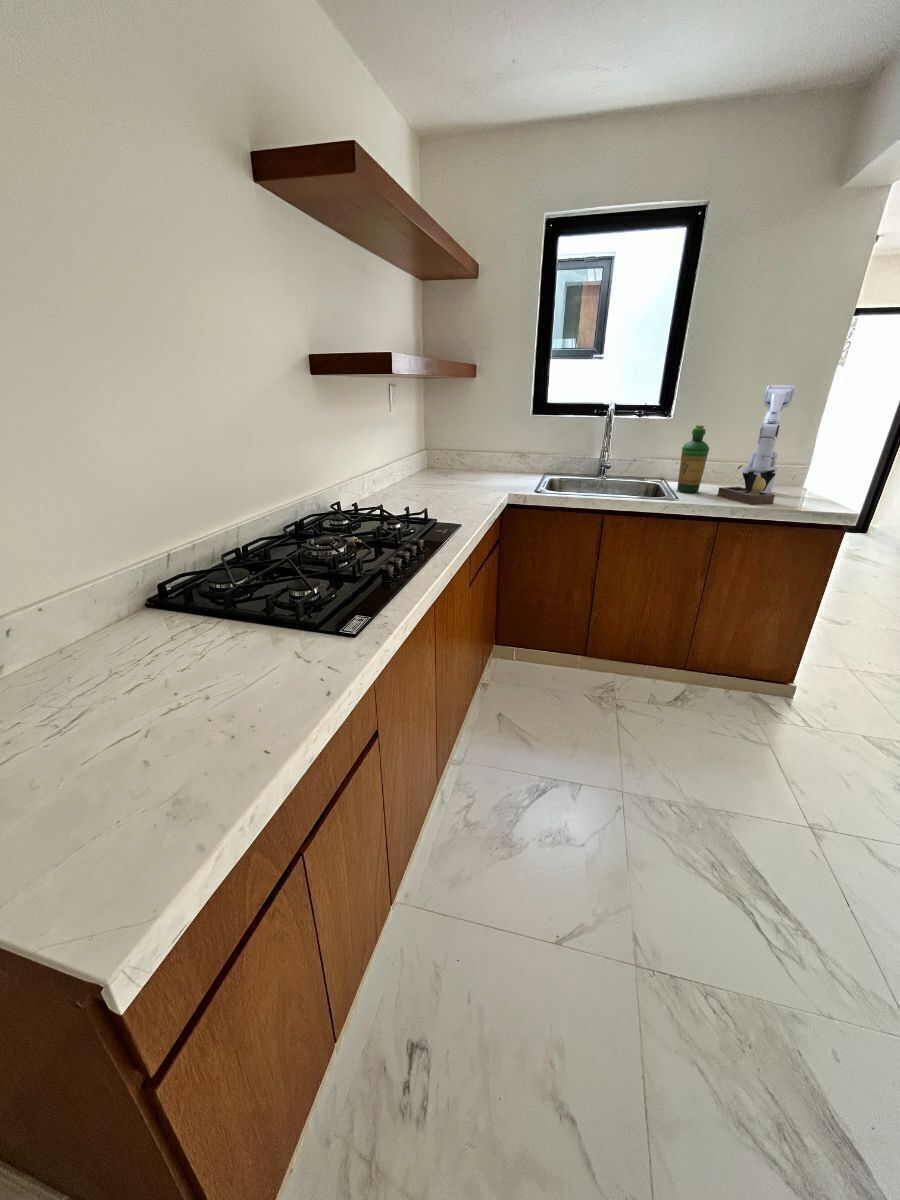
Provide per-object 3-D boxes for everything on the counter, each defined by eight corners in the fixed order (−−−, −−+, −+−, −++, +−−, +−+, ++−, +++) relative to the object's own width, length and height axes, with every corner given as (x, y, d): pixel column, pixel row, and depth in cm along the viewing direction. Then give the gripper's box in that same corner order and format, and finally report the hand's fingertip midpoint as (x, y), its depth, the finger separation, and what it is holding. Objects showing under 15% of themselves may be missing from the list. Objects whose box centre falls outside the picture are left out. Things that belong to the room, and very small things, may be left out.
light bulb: (756, 500, 206) (762, 475, 202) (764, 503, 200) (770, 478, 196) (740, 499, 207) (746, 475, 203) (747, 502, 201) (753, 477, 197)
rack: (737, 494, 217) (739, 486, 216) (772, 503, 200) (775, 494, 199) (717, 495, 215) (719, 487, 213) (751, 504, 198) (753, 495, 196)
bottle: (674, 492, 220) (686, 425, 209) (674, 488, 229) (686, 424, 218) (701, 494, 216) (714, 426, 206) (699, 490, 226) (712, 425, 215)
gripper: (755, 457, 191) (747, 493, 197) (786, 456, 195) (777, 491, 200) (741, 455, 198) (734, 490, 203) (772, 454, 201) (763, 488, 206)
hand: (754, 490), depth 202 cm, fingers closed on light bulb, 6 cm apart
